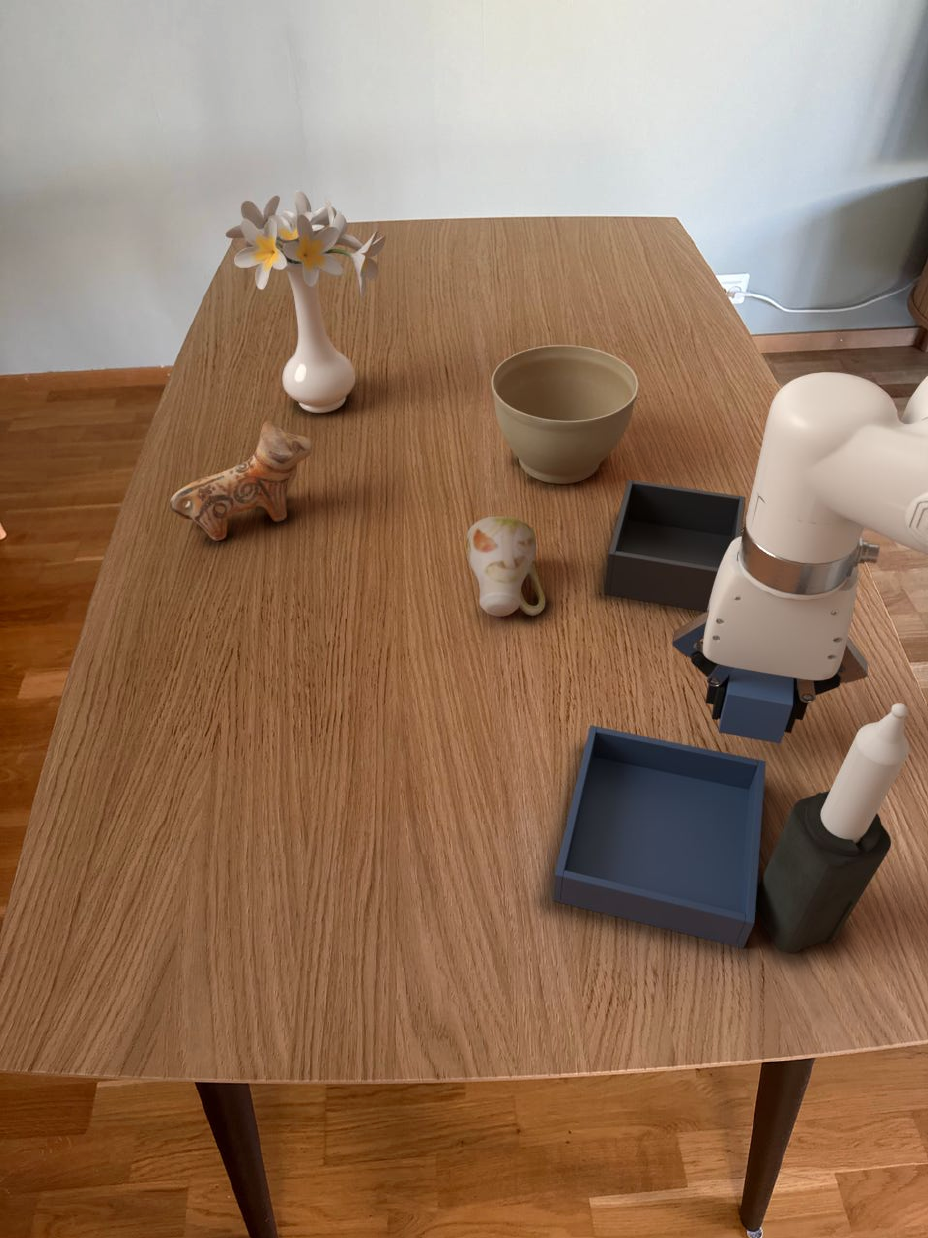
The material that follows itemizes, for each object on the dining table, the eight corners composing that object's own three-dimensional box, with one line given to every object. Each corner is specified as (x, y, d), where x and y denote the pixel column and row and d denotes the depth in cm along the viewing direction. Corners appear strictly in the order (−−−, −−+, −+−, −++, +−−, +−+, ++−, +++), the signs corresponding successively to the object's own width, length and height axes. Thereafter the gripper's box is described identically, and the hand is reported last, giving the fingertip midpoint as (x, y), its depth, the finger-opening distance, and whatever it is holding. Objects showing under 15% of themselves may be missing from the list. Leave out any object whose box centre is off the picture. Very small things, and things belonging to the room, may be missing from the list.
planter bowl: (651, 487, 104) (663, 405, 97) (517, 515, 101) (518, 433, 94) (597, 412, 115) (605, 333, 107) (475, 436, 112) (473, 356, 105)
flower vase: (389, 430, 114) (369, 229, 96) (245, 424, 115) (199, 225, 98) (405, 375, 123) (390, 182, 105) (272, 370, 124) (235, 179, 106)
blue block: (783, 698, 78) (795, 659, 74) (780, 744, 75) (793, 705, 71) (723, 688, 79) (732, 648, 75) (718, 732, 76) (727, 693, 72)
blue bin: (755, 789, 76) (765, 761, 73) (743, 948, 66) (754, 923, 64) (586, 753, 79) (590, 724, 76) (552, 901, 69) (554, 875, 67)
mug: (465, 632, 90) (446, 533, 87) (486, 602, 98) (468, 511, 96) (540, 623, 87) (522, 522, 85) (554, 593, 96) (538, 501, 94)
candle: (781, 958, 66) (889, 753, 48) (747, 895, 69) (835, 682, 51) (844, 938, 67) (972, 730, 49) (807, 877, 70) (913, 662, 52)
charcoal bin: (735, 537, 98) (745, 496, 94) (726, 615, 90) (737, 574, 86) (622, 519, 101) (627, 479, 97) (603, 594, 92) (608, 553, 88)
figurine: (331, 514, 102) (318, 439, 95) (191, 560, 98) (166, 485, 90) (310, 482, 107) (296, 408, 100) (174, 524, 102) (150, 450, 95)
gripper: (924, 532, 64) (858, 698, 77) (679, 500, 68) (655, 663, 81) (931, 604, 59) (859, 769, 72) (666, 565, 63) (643, 728, 76)
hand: (752, 711), depth 76 cm, fingers closed on blue block, 5 cm apart
